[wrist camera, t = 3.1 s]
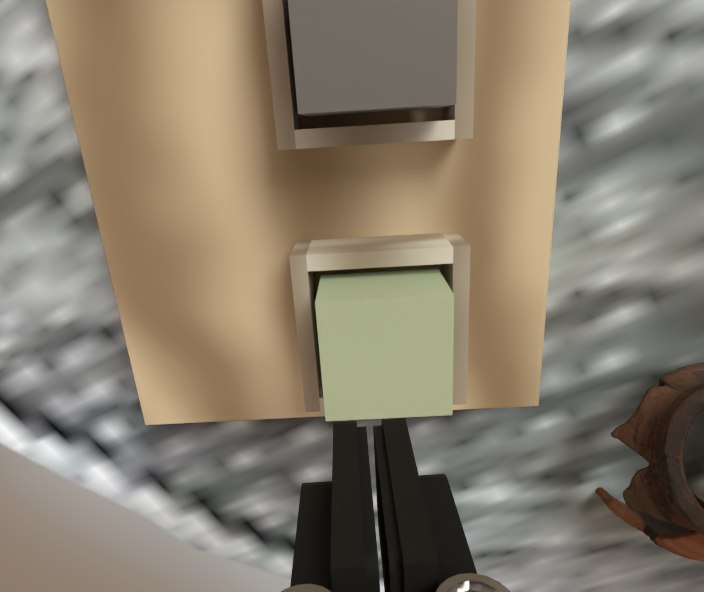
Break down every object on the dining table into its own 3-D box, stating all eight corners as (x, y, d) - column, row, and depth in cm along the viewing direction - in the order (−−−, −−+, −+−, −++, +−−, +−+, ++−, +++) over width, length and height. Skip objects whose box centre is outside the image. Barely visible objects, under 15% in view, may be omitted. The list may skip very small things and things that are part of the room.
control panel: (570, -499, 15) (686, -833, 10) (516, 373, 25) (559, 437, 19) (-8, -447, 15) (-192, -741, 10) (169, 391, 25) (121, 458, 20)
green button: (438, 268, 18) (454, 295, 15) (438, 373, 19) (452, 415, 17) (320, 275, 18) (315, 302, 15) (329, 378, 19) (325, 421, 17)
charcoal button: (438, -46, 15) (458, -88, 12) (438, 108, 16) (456, 104, 13) (294, -36, 15) (281, -76, 12) (307, 116, 16) (298, 114, 13)
